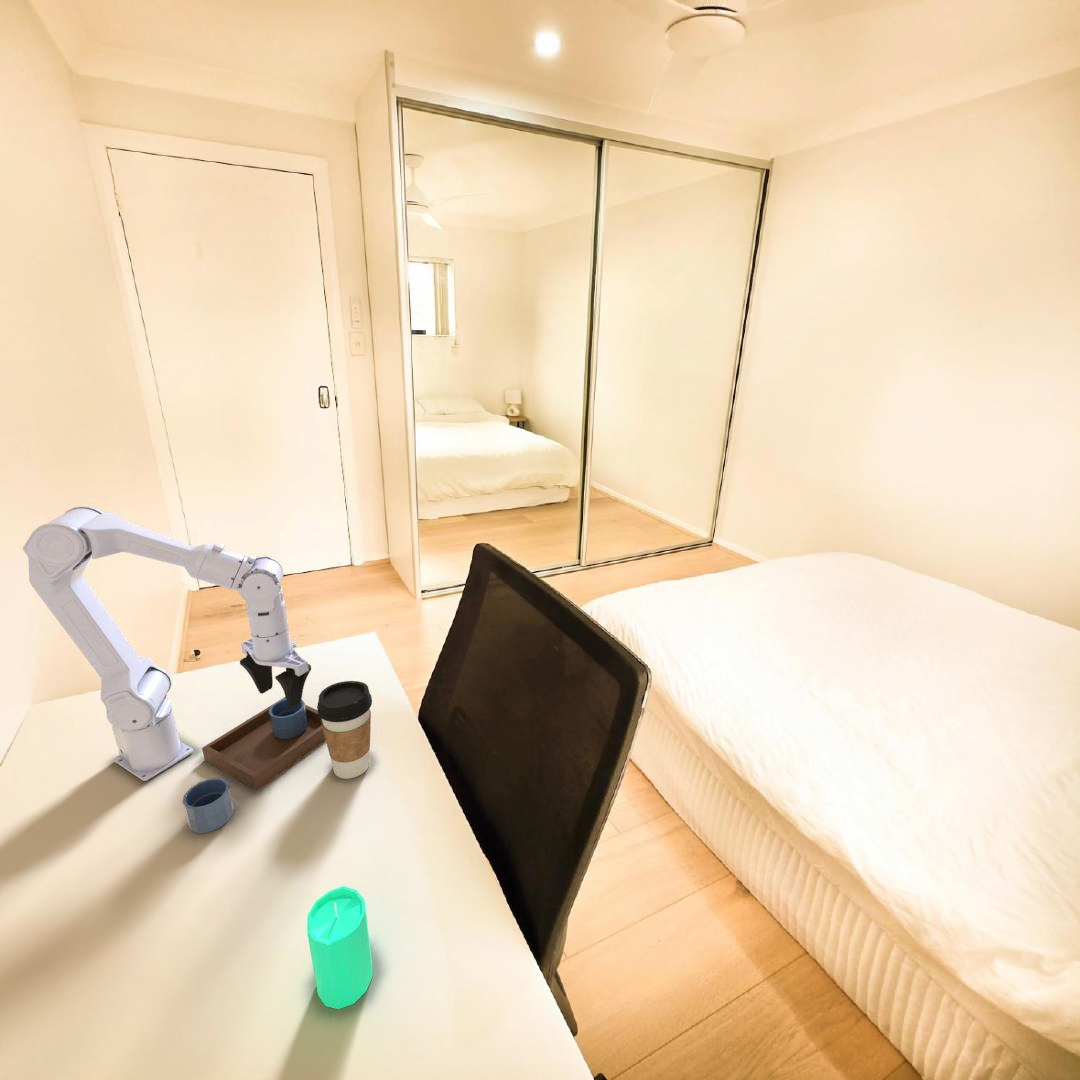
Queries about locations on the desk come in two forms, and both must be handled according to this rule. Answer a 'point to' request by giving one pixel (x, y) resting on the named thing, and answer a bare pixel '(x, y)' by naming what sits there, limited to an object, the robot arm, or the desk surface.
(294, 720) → the rice bowl
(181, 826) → the desk surface
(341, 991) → the candle
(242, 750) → the tray
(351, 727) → the coffee cup
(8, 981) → the desk surface
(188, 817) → the rice bowl
